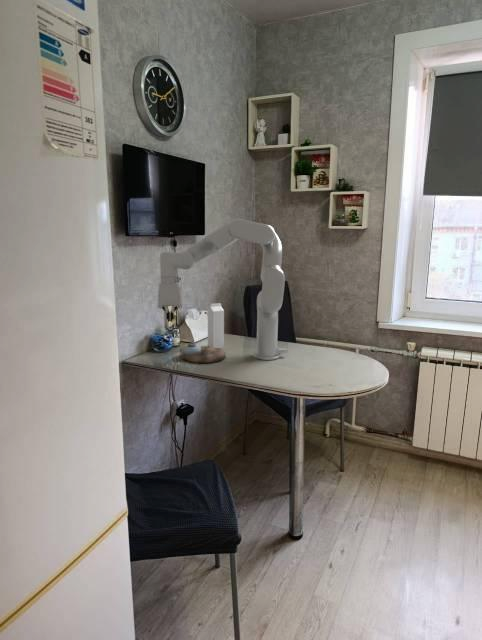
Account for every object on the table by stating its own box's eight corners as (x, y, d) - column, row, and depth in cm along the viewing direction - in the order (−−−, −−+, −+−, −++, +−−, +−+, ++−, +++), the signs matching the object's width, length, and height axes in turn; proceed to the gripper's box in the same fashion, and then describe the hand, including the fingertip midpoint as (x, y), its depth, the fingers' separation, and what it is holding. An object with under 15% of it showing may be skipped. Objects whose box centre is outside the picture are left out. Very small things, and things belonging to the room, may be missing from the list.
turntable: (224, 349, 209) (224, 346, 209) (227, 362, 190) (227, 358, 190) (182, 350, 208) (182, 347, 207) (181, 362, 188) (180, 359, 188)
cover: (200, 350, 202) (200, 342, 201) (200, 355, 194) (200, 346, 194) (183, 350, 201) (183, 342, 201) (182, 355, 194) (182, 346, 193)
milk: (207, 346, 217) (207, 303, 212) (218, 344, 220) (218, 302, 215) (213, 349, 212) (213, 304, 207) (224, 347, 215) (224, 303, 210)
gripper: (186, 279, 194) (187, 319, 198) (152, 279, 193) (153, 319, 197) (186, 281, 187) (186, 322, 191) (151, 281, 186) (152, 323, 189)
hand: (170, 320), depth 194 cm, fingers closed
